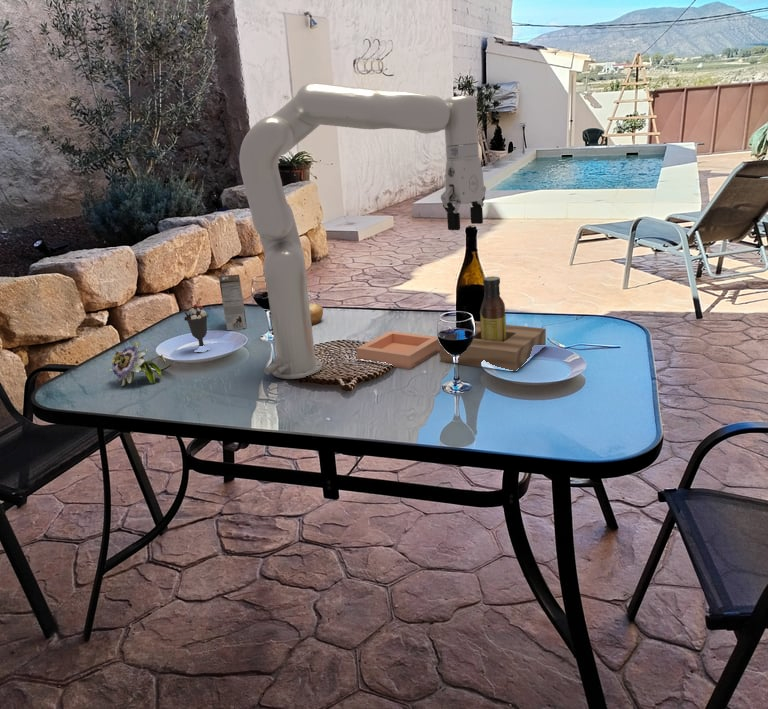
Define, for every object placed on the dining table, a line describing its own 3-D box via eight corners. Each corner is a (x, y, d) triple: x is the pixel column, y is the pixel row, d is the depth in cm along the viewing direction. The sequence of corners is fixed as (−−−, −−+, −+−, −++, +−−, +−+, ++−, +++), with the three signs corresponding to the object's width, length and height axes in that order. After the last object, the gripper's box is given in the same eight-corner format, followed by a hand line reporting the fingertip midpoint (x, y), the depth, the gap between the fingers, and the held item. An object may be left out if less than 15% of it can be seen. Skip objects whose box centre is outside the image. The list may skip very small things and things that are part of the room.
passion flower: (129, 405, 157) (96, 369, 155) (158, 382, 166) (126, 348, 164) (149, 387, 150) (114, 350, 149) (178, 364, 159) (145, 329, 157)
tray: (410, 369, 152) (409, 355, 151) (357, 360, 161) (356, 348, 160) (441, 349, 165) (441, 337, 164) (390, 342, 173) (390, 330, 172)
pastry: (279, 324, 200) (275, 297, 197) (307, 315, 208) (304, 289, 205) (303, 330, 192) (300, 302, 189) (331, 320, 200) (328, 293, 197)
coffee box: (226, 324, 205) (218, 275, 199) (246, 321, 206) (239, 273, 201) (226, 331, 196) (218, 281, 191) (247, 328, 198) (240, 278, 192)
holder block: (515, 372, 145) (515, 352, 144) (440, 361, 156) (439, 342, 155) (545, 347, 161) (545, 328, 159) (475, 338, 172) (474, 321, 170)
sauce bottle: (492, 348, 163) (491, 273, 156) (511, 353, 158) (511, 276, 152) (475, 354, 159) (474, 278, 153) (494, 360, 154) (493, 281, 148)
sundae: (218, 346, 182) (209, 296, 177) (208, 353, 175) (199, 302, 171) (197, 346, 183) (188, 296, 178) (186, 354, 177) (177, 302, 172)
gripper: (454, 155, 137) (458, 233, 143) (495, 149, 149) (498, 221, 155) (427, 156, 142) (432, 232, 148) (469, 151, 154) (472, 221, 160)
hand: (465, 226), depth 151 cm, fingers open, 9 cm apart
